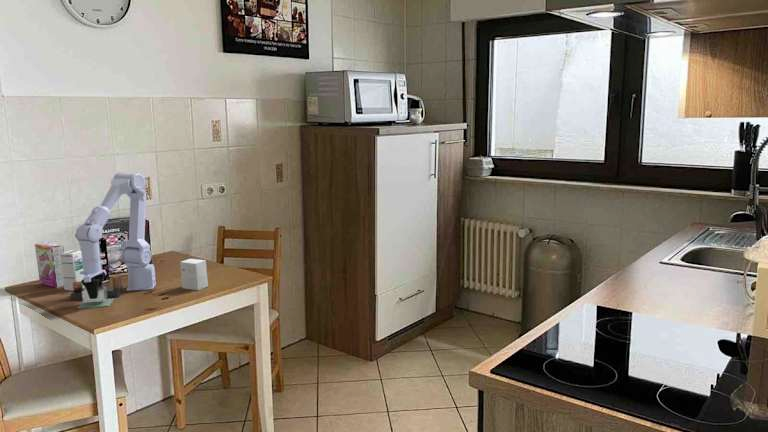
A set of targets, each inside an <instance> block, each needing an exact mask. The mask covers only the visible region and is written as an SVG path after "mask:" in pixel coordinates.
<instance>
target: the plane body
mask: <svg viewBox="0 0 768 432" xmlns="http://www.w3.org/2000/svg"><path fill="white" fill-rule="evenodd" d="M111 279H112V285H104V286H105V287H107V296H108V297H107V298H106V299H112V298H120V296H121V295H122V294H123V293H124V285H123V284H122V282H123V281H122V274H121V273H119V274H114V275H113V276H112V278H111ZM84 289H86V288H85V287H84V288H83V287H82V282H81V281H78V282H73V291H72V292H71V293H70V299H71V301H79V300H80V301H83V298H82V291H84Z"/></svg>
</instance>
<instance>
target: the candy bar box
mask: <svg viewBox="0 0 768 432" xmlns="http://www.w3.org/2000/svg"><path fill="white" fill-rule="evenodd" d="M34 248H35V255H36V256H35V257H36V263H37V270H38V278H39V279H38V280H39V284H40V285H41V286H47V287H51V288H56V289H58V288H62V287H63V288H64V282H63V274H62V267H61V260H60V254H61V253H65V251H64V250H65V249H64V245H63V244H59V243H54V242H48V241H44V242H39V243H36V244H34Z"/></svg>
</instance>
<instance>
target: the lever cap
mask: <svg viewBox="0 0 768 432" xmlns="http://www.w3.org/2000/svg"><path fill="white" fill-rule="evenodd" d="M105 286H106V285H102V286H98V295H97V298H96V299H90V297H89V295H88V292H87V290H86V289H84V291H82V298H83V300H82V302H86V301H101V300H105V299H108V298H107V297H108V296H107V287H105Z"/></svg>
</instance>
